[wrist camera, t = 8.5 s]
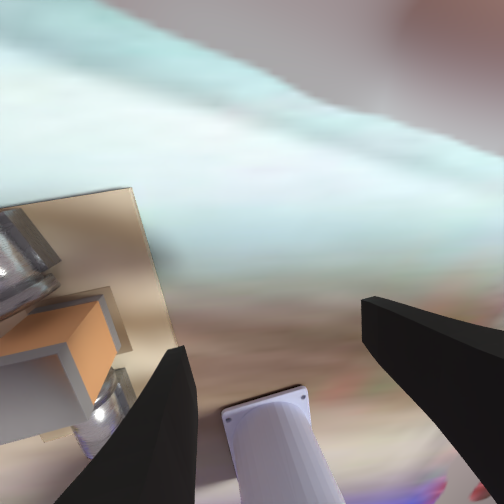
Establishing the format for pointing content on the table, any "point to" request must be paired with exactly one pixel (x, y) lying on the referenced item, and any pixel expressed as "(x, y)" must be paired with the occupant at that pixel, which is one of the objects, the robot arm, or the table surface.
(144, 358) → the plate
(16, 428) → the orange rectangular block
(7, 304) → the shaft
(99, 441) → the shaft
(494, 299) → the table surface
